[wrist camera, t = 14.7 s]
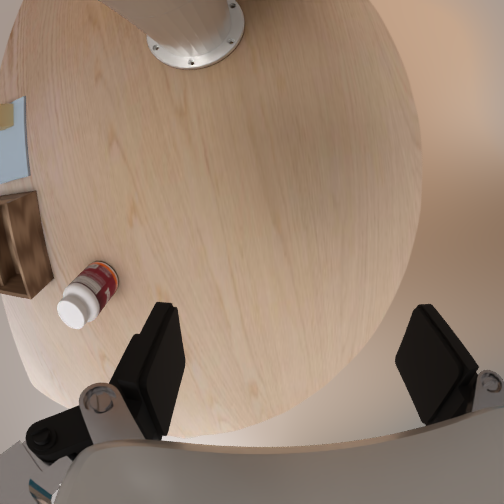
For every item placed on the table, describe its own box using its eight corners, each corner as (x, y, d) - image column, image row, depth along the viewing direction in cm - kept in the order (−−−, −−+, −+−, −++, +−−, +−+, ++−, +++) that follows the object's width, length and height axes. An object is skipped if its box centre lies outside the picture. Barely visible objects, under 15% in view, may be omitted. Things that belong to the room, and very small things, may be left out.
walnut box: (0, 196, 36) (-27, 207, 30) (36, 190, 36) (7, 203, 29) (17, 274, 43) (-4, 292, 36) (54, 278, 43) (31, 299, 36)
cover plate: (-2, 111, 30) (-22, 113, 25) (27, 96, 30) (6, 96, 25) (3, 182, 36) (-16, 190, 31) (32, 174, 36) (11, 181, 31)
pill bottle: (111, 300, 44) (82, 341, 34) (83, 278, 42) (48, 315, 32) (125, 275, 42) (94, 316, 32) (95, 252, 40) (58, 287, 30)
